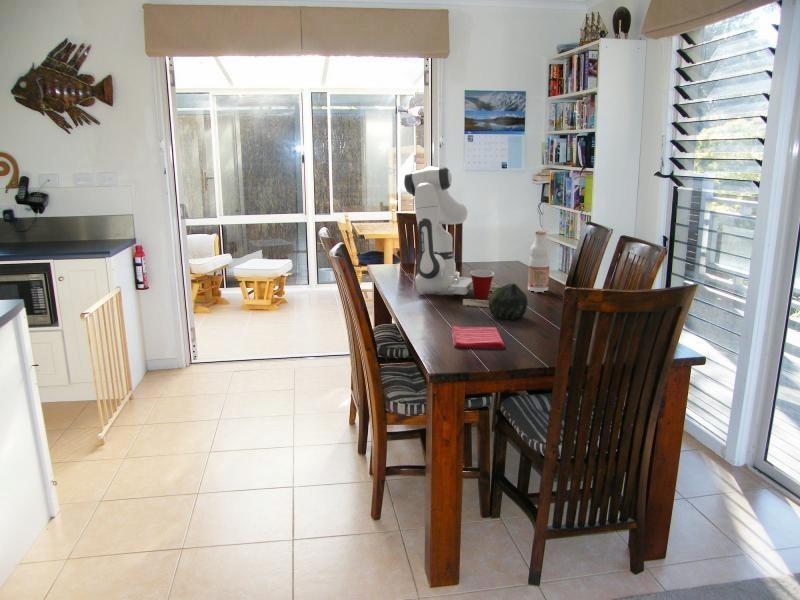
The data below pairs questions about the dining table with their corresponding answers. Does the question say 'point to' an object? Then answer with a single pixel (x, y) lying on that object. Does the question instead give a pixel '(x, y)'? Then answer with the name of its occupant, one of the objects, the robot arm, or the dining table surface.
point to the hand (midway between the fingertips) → (480, 287)
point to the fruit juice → (539, 264)
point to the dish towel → (476, 337)
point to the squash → (508, 302)
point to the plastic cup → (481, 283)
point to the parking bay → (479, 302)
